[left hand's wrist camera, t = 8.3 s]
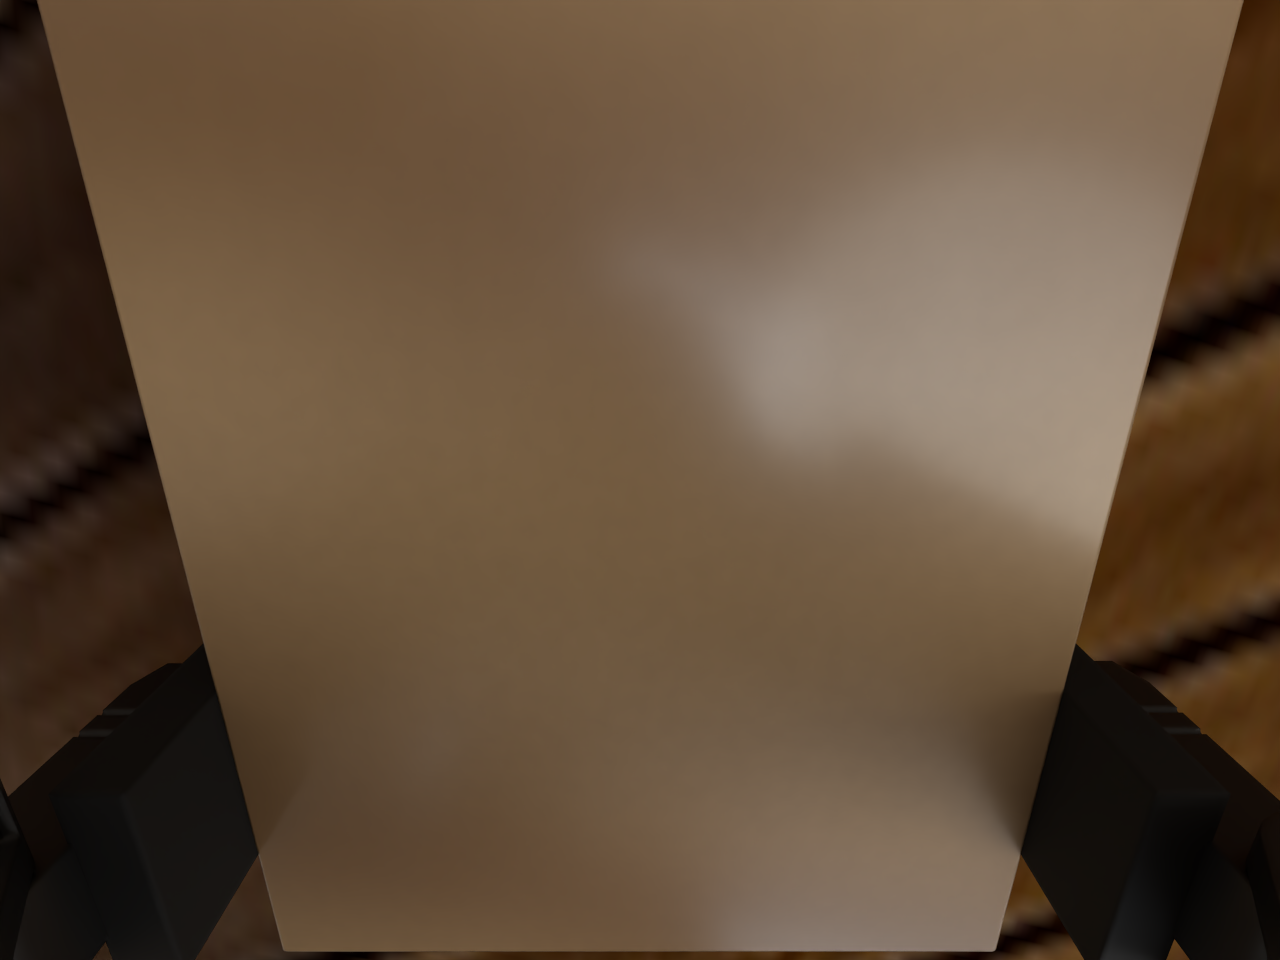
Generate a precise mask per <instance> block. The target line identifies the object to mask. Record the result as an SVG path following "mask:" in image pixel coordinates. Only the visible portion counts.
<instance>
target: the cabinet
mask: <svg viewBox="0 0 1280 960" xmlns="http://www.w3.org/2000/svg"><path fill="white" fill-rule="evenodd" d="M37 2H38V6H39V10H40V14H41V18H42V22H43V26H44V29H45V33H46V37H47V41H48V45H49V49H50V53H51V56H52V60H53V64H54V68H55V72H56V76H57V80H58V83H59V87H60V91H61V95H62V99H63V103H64V107H65V110H66V114H67V118H68V122H69V126H70V130H71V134H72V137H73V141H74V145H75V149H76V153H77V157H78V161H79V164H80V168H81V172H82V176H83V180H84V184H85V188H86V191H87V195H88V199H89V203H90V207H91V211H92V215H93V218H94V222H95V226H96V230H97V234H98V238H99V242H100V245H101V249H102V253H103V257H104V261H105V265H106V269H107V272H108V276H109V280H110V284H111V288H112V292H113V296H114V299H115V303H116V307H117V311H118V315H119V319H120V323H121V326H122V330H123V334H124V338H125V342H126V346H127V350H128V353H129V357H130V361H131V365H132V369H133V373H134V377H135V380H136V384H137V388H138V392H139V396H140V400H141V404H142V407H143V411H144V415H145V419H146V423H147V427H148V431H149V434H150V438H151V442H152V446H153V450H154V454H155V458H156V461H157V465H158V469H159V473H160V477H161V481H162V485H163V488H164V492H165V496H166V500H167V504H168V508H169V512H170V515H171V519H172V523H173V527H174V531H175V535H176V539H177V542H178V546H179V550H180V554H181V558H182V562H183V566H184V569H185V573H186V577H187V581H188V585H189V589H190V593H191V596H192V600H193V604H194V608H195V612H196V616H197V620H198V623H199V627H200V631H201V635H202V639H203V643H204V647H205V650H206V654H207V658H208V662H209V666H210V670H211V674H212V677H213V681H214V685H215V689H216V693H217V697H218V701H219V704H220V708H221V712H222V716H223V720H224V724H225V728H226V731H227V735H228V739H229V743H230V747H231V751H232V755H233V758H234V762H235V766H236V770H237V774H238V778H239V782H240V785H241V789H242V793H243V797H244V801H245V805H246V809H247V812H248V816H249V820H250V824H251V828H252V832H253V836H254V839H255V843H256V847H257V851H258V855H259V859H260V863H261V866H262V870H263V874H264V878H265V882H266V886H267V890H268V893H269V897H270V901H271V905H272V909H273V913H274V917H275V920H276V924H277V928H278V932H279V936H280V940H281V944H282V947H283V950H284V951H995V950H996V946H997V943H998V939H999V935H1000V931H1001V927H1002V923H1003V920H1004V916H1005V912H1006V908H1007V904H1008V900H1009V897H1010V893H1011V889H1012V885H1013V881H1014V877H1015V874H1016V870H1017V866H1018V862H1019V858H1020V854H1021V851H1022V847H1023V843H1024V839H1025V835H1026V831H1027V828H1028V824H1029V820H1030V816H1031V812H1032V808H1033V805H1034V801H1035V797H1036V793H1037V789H1038V785H1039V782H1040V778H1041V774H1042V770H1043V766H1044V762H1045V759H1046V755H1047V751H1048V747H1049V743H1050V739H1051V736H1052V732H1053V728H1054V724H1055V720H1056V716H1057V713H1058V709H1059V705H1060V701H1061V697H1062V694H1063V690H1064V686H1065V682H1066V678H1067V674H1068V671H1069V667H1070V663H1071V659H1072V655H1073V651H1074V648H1075V644H1076V640H1077V636H1078V632H1079V628H1080V625H1081V621H1082V617H1083V613H1084V609H1085V605H1086V602H1087V598H1088V594H1089V590H1090V586H1091V582H1092V579H1093V575H1094V571H1095V567H1096V563H1097V559H1098V556H1099V552H1100V548H1101V544H1102V540H1103V536H1104V533H1105V529H1106V525H1107V521H1108V517H1109V513H1110V510H1111V506H1112V502H1113V498H1114V494H1115V490H1116V487H1117V483H1118V479H1119V475H1120V471H1121V467H1122V464H1123V460H1124V456H1125V452H1126V448H1127V444H1128V441H1129V437H1130V433H1131V429H1132V425H1133V421H1134V418H1135V414H1136V410H1137V406H1138V402H1139V398H1140V395H1141V391H1142V387H1143V383H1144V379H1145V375H1146V372H1147V368H1148V364H1149V360H1150V356H1151V352H1152V349H1153V345H1154V341H1155V337H1156V333H1157V329H1158V326H1159V322H1160V318H1161V314H1162V310H1163V306H1164V303H1165V299H1166V295H1167V291H1168V287H1169V283H1170V280H1171V276H1172V272H1173V268H1174V264H1175V260H1176V257H1177V253H1178V249H1179V245H1180V241H1181V237H1182V234H1183V230H1184V226H1185V222H1186V218H1187V214H1188V211H1189V207H1190V203H1191V199H1192V195H1193V191H1194V188H1195V184H1196V180H1197V176H1198V172H1199V168H1200V165H1201V161H1202V157H1203V153H1204V149H1205V145H1206V142H1207V138H1208V134H1209V130H1210V126H1211V123H1212V119H1213V115H1214V111H1215V107H1216V103H1217V100H1218V96H1219V92H1220V88H1221V84H1222V80H1223V77H1224V73H1225V69H1226V65H1227V61H1228V57H1229V54H1230V50H1231V46H1232V42H1233V38H1234V34H1235V31H1236V27H1237V23H1238V19H1239V15H1240V11H1241V8H1242V4H1243V0H37Z"/></svg>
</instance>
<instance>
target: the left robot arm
mask: <svg viewBox="0 0 1280 960" xmlns="http://www.w3.org/2000/svg"><path fill="white" fill-rule="evenodd" d="M1021 855H1022V857H1023V858H1024V860H1025V862H1026V863H1027V865H1028V867H1029V868H1030V870H1031V872H1032V873H1033V875H1034V877H1035V878H1036V880H1037V882H1038V883H1039V885H1040V887H1041V888H1042V890H1043V892H1044V893H1045V895H1046V897H1047V898H1048V900H1049V902H1050V903H1051V905H1052V907H1053V908H1054V910H1055V912H1056V913H1057V915H1058V917H1059V918H1060V920H1061V922H1062V923H1063V925H1064V927H1065V928H1066V930H1067V932H1068V933H1069V935H1070V937H1071V938H1072V940H1073V942H1074V943H1075V945H1076V947H1077V948H1078V950H1079V952H1080V953H1081V955H1082V957H1083V958H1084V960H1166V959H1167V956H1168V954H1169V951H1170V949H1171V946H1172V943H1173V941H1174V939H1175V940H1176V942H1177V943H1178V944H1179V946H1180V947H1181V948H1182V950H1183V951H1184V952H1185V954H1186V955H1187V956H1188V958H1189V959H1190V960H1280V801H1279V800H1278V799H1277V798H1276V797H1275V796H1274V795H1273V794H1272V793H1270V792H1269V791H1268V790H1267V789H1266V788H1265V787H1264V786H1263V785H1262V784H1261V783H1259V782H1258V781H1257V780H1256V779H1255V778H1254V777H1253V776H1252V775H1251V774H1250V773H1248V772H1247V771H1246V770H1245V769H1244V768H1243V767H1242V766H1241V765H1240V764H1238V763H1237V762H1236V761H1235V760H1234V759H1233V758H1232V757H1231V756H1230V755H1229V754H1227V753H1226V752H1225V751H1224V750H1223V749H1222V748H1221V747H1220V746H1219V745H1218V744H1216V743H1215V742H1214V741H1213V740H1212V739H1211V738H1210V737H1209V736H1208V735H1207V734H1201V732H1200V728H1199V727H1198V726H1197V725H1195V724H1194V723H1193V722H1192V721H1191V720H1190V719H1189V718H1188V717H1187V716H1186V715H1184V714H1183V713H1178V712H1177V707H1176V706H1175V705H1173V704H1172V703H1171V702H1170V701H1169V700H1168V699H1167V698H1166V697H1165V696H1164V695H1162V694H1161V693H1160V692H1159V691H1158V690H1157V689H1156V688H1155V687H1154V686H1153V685H1151V684H1150V683H1149V682H1147V681H1146V680H1144V679H1142V678H1141V677H1139V676H1137V675H1135V674H1134V673H1132V672H1130V671H1128V670H1127V669H1125V668H1123V667H1121V666H1120V665H1118V664H1116V663H1114V662H1113V661H1093V660H1092V659H1091V658H1090V657H1089V656H1088V655H1087V654H1086V653H1085V652H1084V651H1083V650H1082V649H1081V648H1080V647H1079V646H1078V645H1077V644H1075V648H1074V651H1073V655H1072V659H1071V663H1070V667H1069V671H1068V674H1067V678H1066V682H1065V686H1064V690H1063V694H1062V697H1061V701H1060V705H1059V709H1058V713H1057V716H1056V720H1055V724H1054V728H1053V732H1052V736H1051V739H1050V743H1049V747H1048V751H1047V755H1046V759H1045V762H1044V766H1043V770H1042V774H1041V778H1040V782H1039V785H1038V789H1037V793H1036V797H1035V801H1034V805H1033V808H1032V812H1031V816H1030V820H1029V824H1028V828H1027V831H1026V835H1025V839H1024V843H1023V847H1022V851H1021ZM257 856H258V851H257V847H256V843H255V839H254V836H253V832H252V828H251V824H250V820H249V816H248V812H247V809H246V805H245V801H244V797H243V793H242V789H241V785H240V782H239V778H238V774H237V770H236V766H235V762H234V758H233V755H232V751H231V747H230V743H229V739H228V735H227V731H226V728H225V724H224V720H223V716H222V712H221V708H220V704H219V701H218V697H217V693H216V689H215V685H214V681H213V677H212V674H211V670H210V666H209V662H208V658H207V654H206V650H205V647H204V643H203V644H202V645H201V646H200V647H199V648H198V649H197V650H196V651H195V652H194V653H193V654H192V655H191V656H190V657H189V658H188V659H187V660H186V661H185V662H184V663H168V664H166V665H164V666H163V667H161V668H159V669H157V670H156V671H154V672H152V673H151V674H149V675H147V676H145V677H144V678H142V679H140V680H138V681H137V682H135V683H133V684H131V685H130V686H129V687H128V688H127V689H126V690H125V691H123V692H122V693H121V694H120V695H119V696H118V697H117V698H116V699H115V700H114V701H113V702H111V703H110V704H109V705H108V706H107V707H106V708H105V709H104V710H103V714H102V715H97V716H96V717H95V718H94V719H93V720H92V721H91V722H90V723H88V724H87V725H86V726H85V727H84V728H83V729H82V730H81V731H80V734H79V736H78V737H73V738H72V739H71V740H70V741H69V742H68V743H67V744H65V745H64V746H63V747H62V748H61V749H60V750H59V751H58V752H57V753H56V754H54V755H53V756H52V757H51V758H50V759H49V760H48V761H47V762H46V763H45V764H44V765H42V766H41V767H40V768H39V769H38V770H37V771H36V772H35V773H34V774H33V775H31V776H30V777H29V778H28V779H27V780H26V781H25V782H24V783H23V784H22V785H21V786H19V787H18V788H17V789H16V790H15V791H14V792H13V793H12V794H11V795H10V796H7V794H6V791H5V789H4V787H3V784H2V782H1V779H0V960H92V959H93V958H94V957H95V955H96V954H97V952H98V951H99V950H100V948H101V947H102V946H103V944H104V943H105V942H106V944H107V946H108V949H109V951H110V954H111V956H112V959H113V960H195V959H196V957H197V955H198V954H199V952H200V950H201V949H202V947H203V945H204V944H205V942H206V940H207V939H208V937H209V935H210V934H211V932H212V930H213V929H214V927H215V925H216V924H217V922H218V920H219V919H220V917H221V915H222V914H223V912H224V910H225V909H226V907H227V905H228V904H229V902H230V900H231V899H232V897H233V895H234V894H235V892H236V891H237V889H238V887H239V886H240V884H241V882H242V881H243V879H244V877H245V876H246V874H247V872H248V871H249V869H250V867H251V866H252V864H253V862H254V861H255V859H256V857H257Z"/></svg>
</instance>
